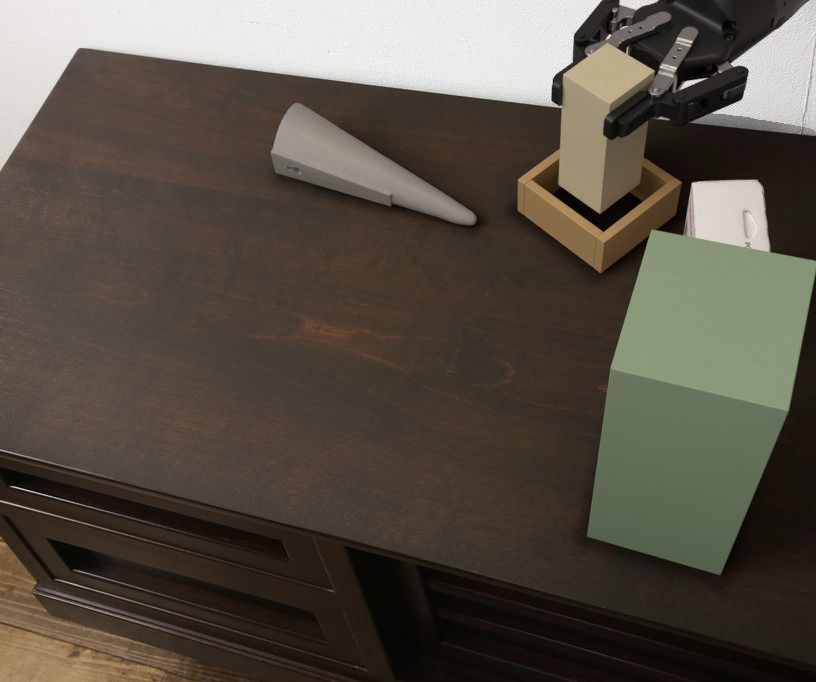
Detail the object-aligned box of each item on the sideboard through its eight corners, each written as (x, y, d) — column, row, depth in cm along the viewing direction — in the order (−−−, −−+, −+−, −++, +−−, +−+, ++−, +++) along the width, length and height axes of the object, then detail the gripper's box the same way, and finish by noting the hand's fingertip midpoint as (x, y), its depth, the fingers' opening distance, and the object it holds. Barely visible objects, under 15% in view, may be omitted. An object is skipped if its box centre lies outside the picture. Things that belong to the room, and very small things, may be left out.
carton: (640, 183, 88) (655, 70, 78) (599, 214, 87) (610, 104, 77) (597, 155, 90) (607, 42, 81) (558, 184, 89) (562, 74, 79)
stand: (747, 450, 77) (818, 260, 60) (720, 575, 73) (789, 411, 55) (620, 418, 80) (651, 228, 63) (586, 536, 76) (610, 368, 58)
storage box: (675, 214, 90) (682, 182, 87) (600, 273, 88) (604, 242, 85) (590, 156, 95) (593, 123, 92) (517, 210, 93) (517, 179, 90)
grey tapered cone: (501, 150, 92) (298, 89, 97) (473, 211, 90) (267, 144, 95) (498, 188, 97) (306, 127, 102) (471, 245, 95) (276, 181, 100)
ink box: (671, 277, 87) (691, 176, 77) (737, 278, 86) (766, 176, 76) (676, 368, 82) (698, 273, 72) (747, 370, 81) (779, 274, 71)
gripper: (671, -81, 85) (511, 29, 80) (829, -4, 77) (661, 123, 73) (661, -3, 91) (512, 103, 87) (806, 76, 83) (650, 197, 79)
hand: (581, 111), depth 80 cm, fingers closed on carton, 4 cm apart
